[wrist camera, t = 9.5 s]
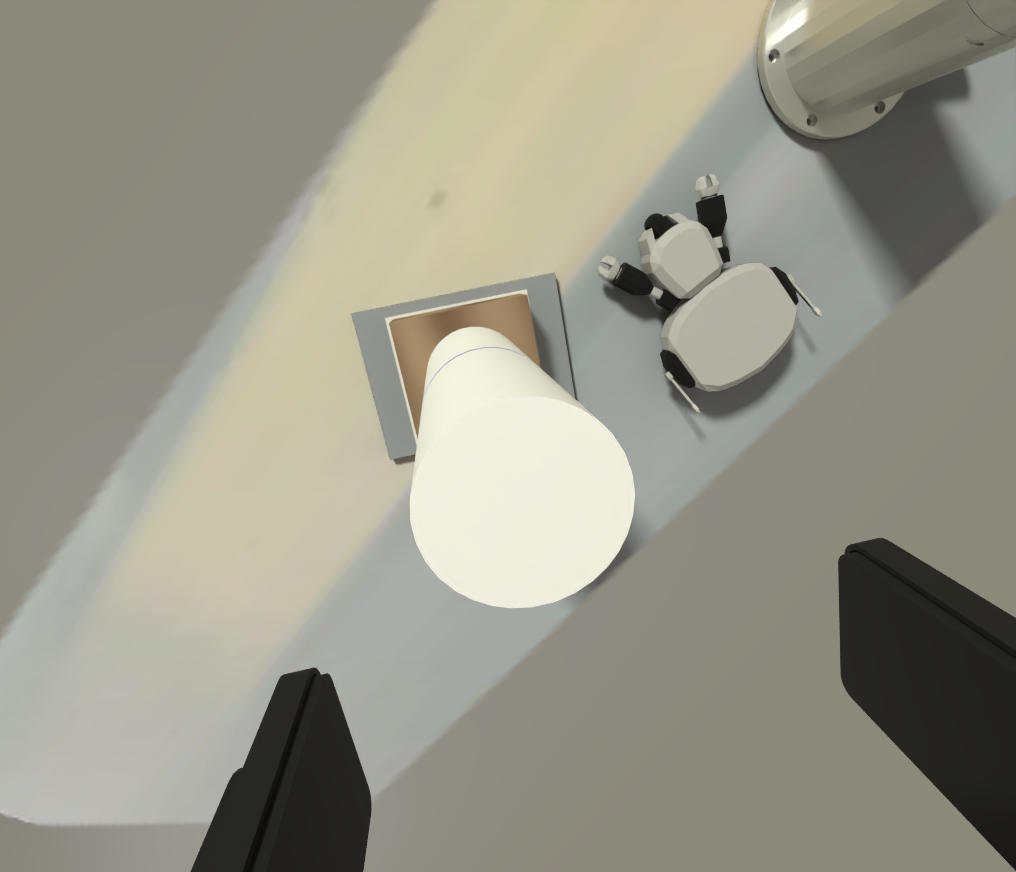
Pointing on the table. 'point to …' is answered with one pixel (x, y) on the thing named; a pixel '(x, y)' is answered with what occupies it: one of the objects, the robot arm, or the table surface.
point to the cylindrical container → (513, 477)
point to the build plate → (376, 321)
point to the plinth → (428, 329)
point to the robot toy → (709, 298)
